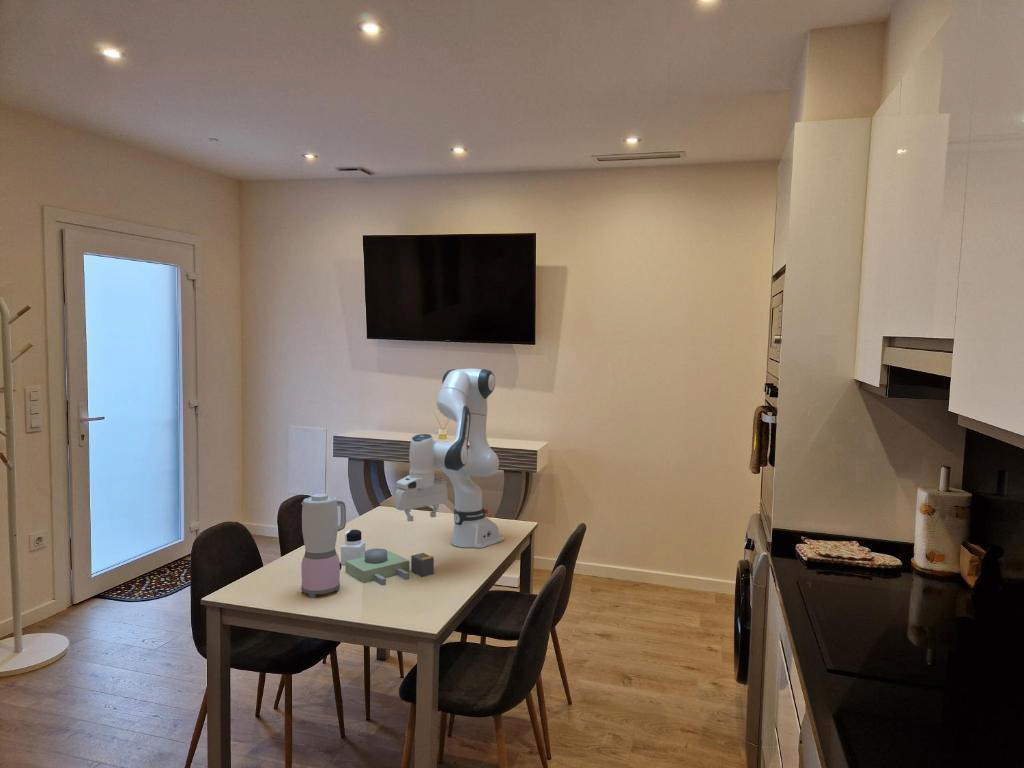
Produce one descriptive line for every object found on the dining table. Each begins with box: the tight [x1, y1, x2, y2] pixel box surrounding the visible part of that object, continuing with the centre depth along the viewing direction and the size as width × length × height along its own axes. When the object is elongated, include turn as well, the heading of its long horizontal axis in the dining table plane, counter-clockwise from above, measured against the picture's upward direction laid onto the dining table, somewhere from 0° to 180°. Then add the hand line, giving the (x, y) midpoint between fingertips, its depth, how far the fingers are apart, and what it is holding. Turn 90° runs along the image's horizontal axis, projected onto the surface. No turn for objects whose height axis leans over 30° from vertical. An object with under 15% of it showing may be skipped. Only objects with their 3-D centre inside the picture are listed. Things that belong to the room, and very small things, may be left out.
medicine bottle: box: [340, 529, 366, 566], centre depth 250 cm, size 7×7×12 cm
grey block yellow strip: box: [410, 552, 435, 578], centre depth 239 cm, size 5×7×7 cm
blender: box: [300, 493, 347, 599], centre depth 222 cm, size 16×12×32 cm
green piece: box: [344, 548, 410, 586], centre depth 238 cm, size 18×20×7 cm
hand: (421, 519), depth 239 cm, fingers open, 8 cm apart
